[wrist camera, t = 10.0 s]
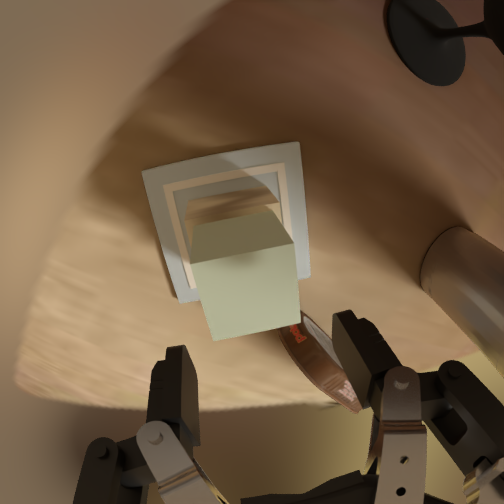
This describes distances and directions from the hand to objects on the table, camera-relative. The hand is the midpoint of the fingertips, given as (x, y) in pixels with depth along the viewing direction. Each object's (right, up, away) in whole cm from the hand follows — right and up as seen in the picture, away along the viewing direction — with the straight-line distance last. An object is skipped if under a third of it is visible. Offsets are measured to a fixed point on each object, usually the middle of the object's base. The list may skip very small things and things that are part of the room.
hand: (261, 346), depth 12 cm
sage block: (-1, +4, +8) cm, 9 cm away
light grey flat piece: (-2, +6, +12) cm, 14 cm away
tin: (+7, -6, +20) cm, 22 cm away
